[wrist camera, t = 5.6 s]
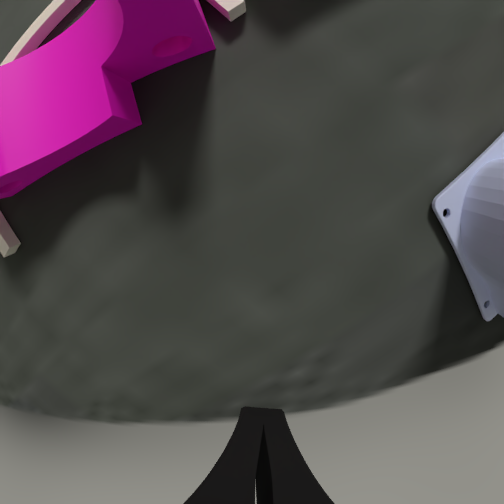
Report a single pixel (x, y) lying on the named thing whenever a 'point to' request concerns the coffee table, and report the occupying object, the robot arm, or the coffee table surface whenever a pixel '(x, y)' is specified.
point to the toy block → (88, 82)
